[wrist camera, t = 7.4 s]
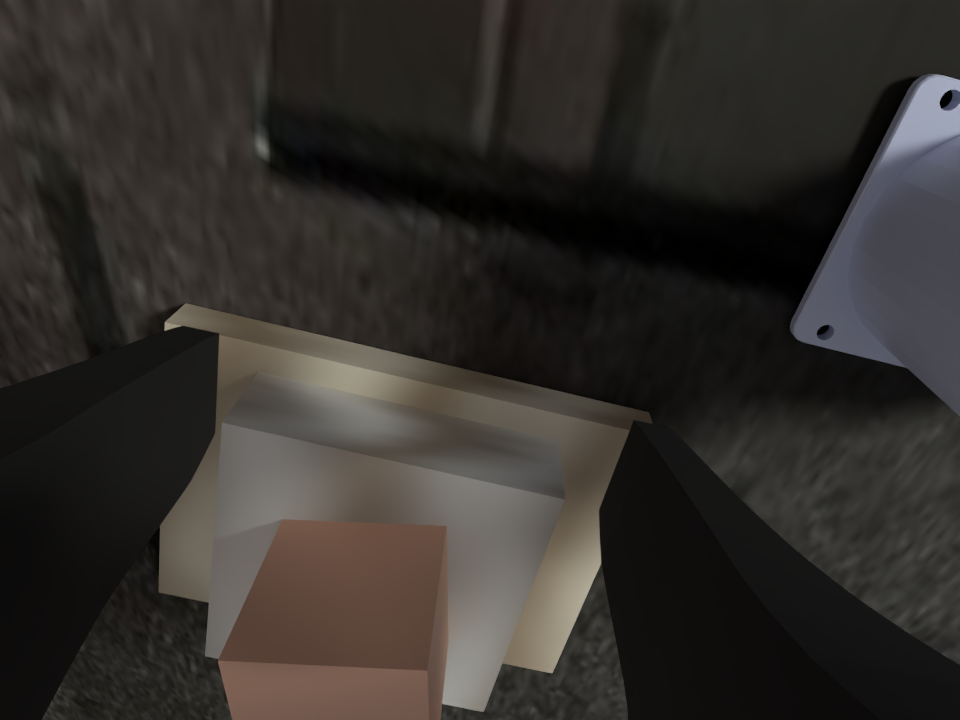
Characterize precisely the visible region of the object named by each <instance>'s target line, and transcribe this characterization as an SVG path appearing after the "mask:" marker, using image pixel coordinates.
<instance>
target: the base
mask: <svg viewBox="0 0 960 720" xmlns="http://www.w3.org/2000/svg"><path fill="white" fill-rule="evenodd" d="M180 326H187V327H192V328H197V329H201V330H206V331H211V332H216V333H219V354H218V378H217V403H216V427H215V435H214V437H213V439H212V441H211V443H210V445H209V447H208V449H207V451H206V453H205V455H204V457H203V459H202V461H201V463H200V465H199V467H198V469H197V471H196V473H195V474H194V476H193V478H192V480H191V482H190V483H189V485H188V486H187V488H186V489H185V491H184V492H183V494H182V495H181V496H180V498H179V499H178V501H177V502H176V504H175V505H174V506H173V508H172V509H171V511H170V512H169V514H168V515H167V516H166V518H165V519H164V521H163V522H162V524H161V525H160V555H159V593H164V594H169V595H174V596H179V597H184V598H188V599H193V600H198V601H203V602H208V603H209V609H208V623H207V636H206V650H205V656H207V657H212V658H217V659H219V657H220V655H221V652H222V650H223V648H224V646H225V644H226V642H227V639H228V637H229V635H230V633H231V631H232V628H233V626H234V624H235V622H236V620H237V617H238V615H239V613H240V611H241V609H242V607H243V604H244V602H245V600H246V598H247V596H248V593H249V591H250V589H251V587H252V585H253V582H254V580H255V578H256V576H257V574H258V571H259V569H260V567H261V565H262V563H263V561H264V558H265V556H266V554H267V552H268V550H269V547H270V545H271V543H272V541H273V539H274V536H275V534H276V532H277V530H278V528H279V526H280V523H281V521H282V519H286V520H311V521H336V522H361V523H385V524H410V525H435V526H447V571H448V630H449V643H448V652H447V662H446V671H445V680H444V690H443V699H442V704H446V705H451V706H456V707H461V708H466V709H471V710H476V711H481V712H484V709H485V707H486V704H487V702H488V699H489V696H490V694H491V691H492V689H493V686H494V683H495V681H496V678H497V676H498V673H499V670H500V668H501V665H502V663H504V664H509V665H514V666H519V667H524V668H528V669H533V670H538V671H543V672H548V673H553V671H554V668H555V666H556V664H557V662H558V659H559V657H560V655H561V653H562V650H563V648H564V646H565V644H566V641H567V639H568V637H569V634H570V632H571V630H572V628H573V625H574V623H575V621H576V619H577V616H578V614H579V612H580V610H581V607H582V605H583V603H584V601H585V598H586V596H587V594H588V592H589V589H590V587H591V585H592V582H593V580H594V578H595V576H596V573H597V571H598V569H599V567H600V564H601V550H600V529H599V508H600V506H601V503H602V501H603V498H604V495H605V493H606V490H607V488H608V485H609V482H610V480H611V477H612V475H613V472H614V470H615V467H616V464H617V462H618V459H619V457H620V454H621V451H622V449H623V446H624V444H625V441H626V439H627V436H628V433H629V431H630V428H631V426H632V423H633V421H634V420H636V421H641V422H646V423H651V424H653V423H652V420H651V417H650V414H649V412H645V411H641V410H637V409H633V408H628V407H624V406H620V405H616V404H611V403H607V402H603V401H599V400H594V399H590V398H586V397H582V396H577V395H573V394H569V393H565V392H560V391H556V390H552V389H548V388H543V387H539V386H535V385H531V384H526V383H522V382H518V381H514V380H509V379H505V378H501V377H497V376H492V375H488V374H484V373H480V372H475V371H471V370H467V369H463V368H459V367H454V366H450V365H446V364H442V363H437V362H433V361H429V360H425V359H420V358H416V357H412V356H408V355H403V354H399V353H395V352H391V351H386V350H382V349H378V348H374V347H369V346H365V345H361V344H357V343H352V342H348V341H344V340H340V339H335V338H331V337H327V336H323V335H318V334H314V333H310V332H306V331H301V330H297V329H293V328H289V327H284V326H280V325H276V324H272V323H267V322H263V321H259V320H255V319H250V318H246V317H242V316H238V315H233V314H229V313H225V312H221V311H216V310H212V309H208V308H204V307H199V306H195V305H191V304H187V303H186V304H184V305H183V306H182V307H181V308H180V309H179V310H178V311H177V312H175V313H174V314H173V315H172V316H171V317H170V318H169V319H168V320H167V321H165V331H166V330H169V329H172V328H176V327H180Z"/></svg>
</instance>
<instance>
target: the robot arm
mask: <svg viewBox="0 0 960 720" xmlns="http://www.w3.org/2000/svg"><path fill="white" fill-rule="evenodd" d="M949 90H951V91H952V94H953V97H952V100H951V102H950V103H949V104H948V106H946V107H944V108H942V109H941V107H940V104H939V103H940V99H941V97H942V96H943V95H944V93H945V92H947V91H949ZM824 325H829V329H828V330H827V331H826V333H824V334H822V335H817V331H818V329H819V328H820V327H822V326H824ZM790 331H791V333H792V334H793V335H794V336H795V338H796V339H797V340H799V341H801V342H803V343H807V344H812V345H816V346H820V347H824V348H828V349H832V350H836V351H840V352H844V353H848V354H852V355H856V356H860V357H864V358H868V359H872V360H876V361H880V362H884V363H889V364H893V365H897V366H901V367H905V368H908V369H909V370H910V371H911V372H912V373H913V374H914V375H915V376H916V377H917V378H918V379H920V380H921V381H922V382H923V383H924V384H925V385H926V386H927V387H928V388H929V389H930V390H931V391H933V392H934V393H935V394H936V395H937V396H938V397H939V398H940V399H941V400H942V401H943V402H944V403H946V404H947V405H948V406H949V407H950V408H951V409H952V410H953V411H954V412H955V413H956V414H957V415H959V416H960V80H957V79H954V78H950V77H947V76H943V75H938V74H927V75H924V76H921V77H919V78H918V79H917V80H915V81H914V82H913V83H912V85H911V86H910V88H909V89H908V91H907V93H906V95H905V97H904V99H903V101H902V103H901V105H900V107H899V109H898V111H897V113H896V115H895V117H894V118H893V120H892V122H891V124H890V126H889V128H888V130H887V132H886V134H885V136H884V138H883V140H882V142H881V144H880V146H879V148H878V150H877V152H876V154H875V156H874V158H873V160H872V162H871V164H870V166H869V168H868V170H867V172H866V174H865V176H864V178H863V180H862V182H861V184H860V186H859V188H858V190H857V192H856V194H855V196H854V198H853V200H852V202H851V203H850V205H849V207H848V209H847V211H846V213H845V215H844V217H843V219H842V221H841V223H840V225H839V227H838V229H837V231H836V233H835V235H834V237H833V239H832V241H831V243H830V245H829V247H828V249H827V251H826V253H825V255H824V257H823V259H822V261H821V263H820V265H819V267H818V269H817V271H816V273H815V275H814V277H813V279H812V281H811V283H810V285H809V286H808V288H807V290H806V292H805V294H804V296H803V298H802V300H801V302H800V304H799V306H798V308H797V310H796V312H795V314H794V316H793V318H792V320H791V323H790ZM218 354H219V333H216V332H211V331H206V330H201V329H197V328H192V327H187V326H180V327H176V328H172V329H169V330H166V331H163V332H160V333H158V334H155V335H152V336H149V337H147V338H144V339H141V340H139V341H136V342H133V343H131V344H128V345H126V346H123V347H120V348H118V349H115V350H112V351H110V352H107V353H104V354H102V355H99V356H96V357H94V358H91V359H88V360H86V361H83V362H80V363H77V364H74V365H71V366H68V367H65V368H62V369H59V370H56V371H53V372H50V373H47V374H44V375H41V376H38V377H35V378H32V379H29V380H26V381H23V382H20V383H17V384H14V385H11V386H7V387H4V388H0V720H42V718H43V716H44V714H45V712H46V710H47V708H48V707H49V705H50V703H51V701H52V699H53V697H54V695H55V693H56V692H57V690H58V688H59V686H60V684H61V682H62V680H63V678H64V676H65V675H66V673H67V671H68V669H69V667H70V665H71V664H72V662H73V660H74V658H75V656H76V655H77V653H78V651H79V649H80V648H81V646H82V644H83V642H84V640H85V639H86V637H87V635H88V633H89V631H90V630H91V628H92V626H93V624H94V623H95V621H96V619H97V617H98V615H99V614H100V612H101V610H102V609H103V607H104V606H105V604H106V602H107V601H108V599H109V598H110V596H111V595H112V593H113V592H114V590H115V589H116V587H117V585H118V584H119V583H120V581H121V580H122V578H123V577H124V576H125V574H126V573H127V571H128V570H129V569H130V567H131V566H132V564H133V563H134V561H135V560H136V559H137V557H138V556H139V554H140V553H141V552H142V550H143V549H144V547H145V546H146V545H147V543H148V542H149V540H150V539H151V538H152V536H153V535H154V533H155V532H156V531H157V529H158V528H159V526H160V525H161V524H162V522H163V521H164V519H165V518H166V516H167V515H168V514H169V512H170V511H171V509H172V508H173V506H174V505H175V504H176V502H177V501H178V499H179V498H180V496H181V495H182V494H183V492H184V491H185V489H186V488H187V486H188V485H189V483H190V482H191V480H192V478H193V476H194V474H195V473H196V471H197V469H198V467H199V465H200V463H201V461H202V459H203V457H204V455H205V453H206V451H207V449H208V447H209V445H210V443H211V441H212V439H213V437H214V435H215V427H216V403H217V378H218ZM599 529H600V550H601V563H602V568H603V574H604V580H605V585H606V591H607V596H608V601H609V607H610V612H611V617H612V622H613V627H614V632H615V638H616V643H617V648H618V653H619V658H620V664H621V669H622V674H623V679H624V686H625V693H626V700H627V707H628V719H629V720H960V665H959V664H957V663H955V662H954V661H952V660H950V659H948V658H947V657H945V656H943V655H942V654H940V653H939V652H937V651H935V650H934V649H932V648H931V647H929V646H927V645H926V644H924V643H923V642H921V641H919V640H918V639H916V638H915V637H913V636H912V635H910V634H908V633H907V632H906V631H904V630H903V629H901V628H900V627H898V626H897V625H895V624H894V623H892V622H891V621H889V620H888V619H886V618H885V617H883V616H882V615H880V614H879V613H878V612H876V611H875V610H873V609H872V608H870V607H869V606H867V605H866V604H864V603H863V602H862V601H860V600H859V599H858V598H856V597H855V596H853V595H852V594H851V593H849V592H848V591H847V590H845V589H844V588H843V587H841V586H840V585H839V584H837V583H836V582H835V581H834V580H832V579H831V578H830V577H829V576H827V575H826V574H825V573H823V572H822V571H821V570H820V569H818V568H817V567H816V566H815V565H813V564H812V563H811V562H809V561H808V560H807V559H806V558H805V557H803V556H802V555H801V554H800V553H799V552H797V551H796V550H795V549H794V548H793V547H792V546H790V545H789V544H788V543H787V542H786V541H785V540H784V539H783V538H781V537H780V536H779V535H778V534H777V533H776V532H775V531H774V530H773V529H772V528H770V527H769V526H768V525H767V524H766V523H765V522H764V521H763V520H762V519H761V518H759V517H758V516H757V515H756V514H755V513H754V512H753V511H752V510H751V509H750V508H749V507H748V506H747V505H746V504H745V503H744V502H743V501H742V500H741V499H740V498H739V497H738V496H737V495H736V494H735V493H734V492H733V491H732V490H731V489H730V488H729V487H728V486H727V485H726V484H725V483H724V482H723V481H722V480H721V479H720V478H719V477H718V476H717V475H716V474H715V473H714V472H713V471H712V470H711V469H710V468H709V467H708V466H707V465H706V464H705V463H704V462H703V461H702V460H701V459H700V458H699V456H698V455H697V454H696V453H695V452H694V451H693V450H692V449H691V448H690V447H689V446H688V445H687V444H686V443H685V442H684V441H683V440H682V439H681V438H679V437H678V436H677V435H676V434H675V433H674V432H673V431H672V430H670V429H669V428H668V427H665V426H660V425H656V424H651V423H646V422H641V421H636V420H634V421H633V423H632V426H631V428H630V431H629V433H628V436H627V439H626V441H625V444H624V446H623V449H622V451H621V454H620V457H619V459H618V462H617V464H616V467H615V470H614V472H613V475H612V477H611V480H610V482H609V485H608V488H607V490H606V493H605V495H604V498H603V501H602V503H601V506H600V508H599Z"/></svg>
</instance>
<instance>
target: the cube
mask: <svg viewBox="0 0 960 720" xmlns="http://www.w3.org/2000/svg"><path fill="white" fill-rule="evenodd" d="M448 643H449V630H448V571H447V526H435V525H410V524H385V523H361V522H336V521H311V520H286V519H282V521H281V523H280V526H279V528H278V530H277V532H276V534H275V536H274V539H273V541H272V543H271V545H270V547H269V550H268V552H267V554H266V556H265V558H264V561H263V563H262V565H261V567H260V569H259V571H258V574H257V576H256V578H255V580H254V582H253V585H252V587H251V589H250V591H249V593H248V596H247V598H246V600H245V602H244V604H243V607H242V609H241V611H240V613H239V615H238V617H237V620H236V622H235V624H234V626H233V628H232V631H231V633H230V635H229V637H228V639H227V642H226V644H225V646H224V648H223V650H222V652H221V655H220V657H219V659H218V664H219V668H220V672H221V676H222V680H223V684H224V688H225V692H226V696H227V700H228V704H229V708H230V712H231V716H232V719H233V720H440V718H441V709H442V699H443V690H444V680H445V671H446V662H447V652H448Z"/></svg>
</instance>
